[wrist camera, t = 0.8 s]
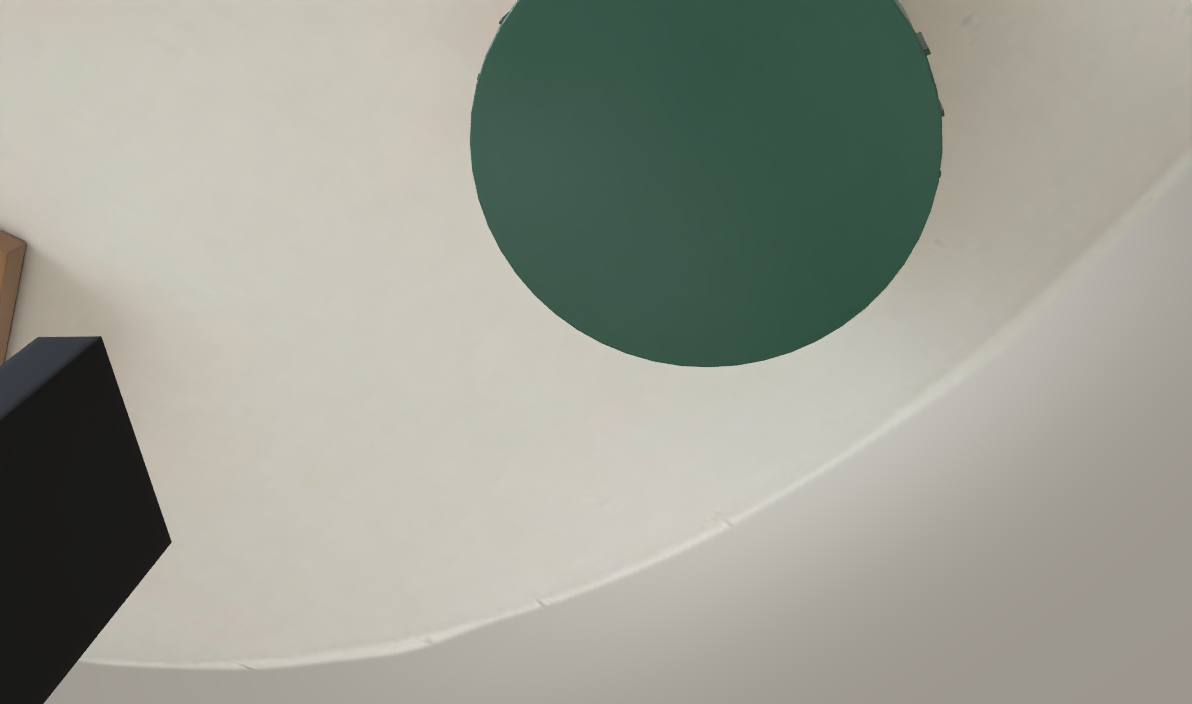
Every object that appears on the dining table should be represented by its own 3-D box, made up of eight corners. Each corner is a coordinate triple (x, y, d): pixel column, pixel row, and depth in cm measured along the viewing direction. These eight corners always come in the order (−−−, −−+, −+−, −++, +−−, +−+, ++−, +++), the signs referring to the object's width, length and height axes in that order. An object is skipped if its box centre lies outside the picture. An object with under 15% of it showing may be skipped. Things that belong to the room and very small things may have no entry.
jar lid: (790, 391, 23) (789, 437, 21) (431, 217, 22) (404, 251, 21) (1029, 30, 19) (1050, 55, 17) (598, -195, 18) (580, -190, 17)
